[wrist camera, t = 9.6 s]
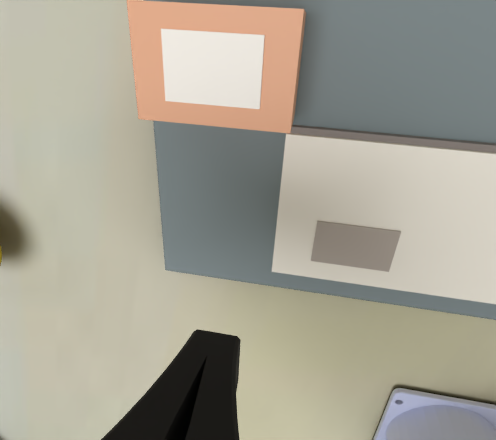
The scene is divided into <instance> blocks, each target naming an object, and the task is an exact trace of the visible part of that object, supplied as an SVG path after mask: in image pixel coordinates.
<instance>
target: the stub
mask: <svg viewBox="0 0 496 440" xmlns="http://www.w3.org/2000/svg"><path fill="white" fill-rule="evenodd" d="M127 8H128V18H129V28H130V38H131V48H132V58H133V68H134V78H135V88H136V98H137V108H138V118H139V119H144V120H154V121H164V122H175V123H185V124H196V125H206V126H217V127H227V128H238V129H248V130H258V131H269V132H279V133H290V132H291V128H292V124H293V120H294V116H295V107H296V98H297V89H298V81H299V72H300V63H301V54H302V46H303V37H304V28H305V19H306V12H305V10H304V9H296V8H276V7H257V6H238V5H218V4H199V3H179V2H160V1H141V0H127Z"/></svg>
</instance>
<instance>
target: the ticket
mask: <svg viewBox="0 0 496 440" xmlns="http://www.w3.org/2000/svg"><path fill="white" fill-rule="evenodd" d="M272 272H277V273H284V274H291V275H297V276H304V277H311V278H318V279H325V280H332V281H339V282H346V283H352V284H359V285H366V286H373V287H380V288H387V289H394V290H401V291H407V292H414V293H421V294H428V295H435V296H442V297H449V298H456V299H462V300H469V301H476V302H483V303H490V304H496V143H486V142H475V141H464V140H453V139H443V138H432V137H421V136H410V135H399V134H389V133H378V132H367V131H356V130H345V129H335V128H324V127H313V126H302V125H292V128H291V132H290V133H286V139H285V149H284V158H283V168H282V177H281V187H280V196H279V206H278V215H277V225H276V234H275V244H274V253H273V263H272Z"/></svg>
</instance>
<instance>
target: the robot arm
mask: <svg viewBox="0 0 496 440" xmlns="http://www.w3.org/2000/svg"><path fill="white" fill-rule="evenodd" d="M239 356H240V339H239V338H238V337H237V336H233V335H227V334H221V333H215V332H209V331H203V330H196V331H194V332H193V334H192V335H191V337H190V338H189V340H188V341H187V342H186V344H185V345H184V346H183V348H182V349H181V351H180V352H179V353H178V355H177V356H176V357H175V358H174V360H173V361H172V362H171V364H170V365H169V366H168V367H167V369H166V370H165V371H164V372H163V373H162V375H161V376H160V377H159V378H158V379H157V380H156V382H155V383H154V384H153V385H152V386H151V388H150V389H149V390H148V391H147V392H146V393H145V395H144V396H143V397H142V398H141V399H140V400H139V401H138V402H137V403H136V404H135V405H134V406H133V407H132V409H131V410H130V411H129V412H128V413H127V414H126V415H125V416H124V417H123V418H122V419H121V420H120V421H119V422H118V423H117V424H116V425H115V426H114V427H113V428H112V429H111V430H110V431H109V432H108V433H107V434H106V435H105V436H104V437H103V438H102V439H101V440H239V432H238V421H237V405H236V389H237V383H238V373H239ZM373 440H496V405H493V404H487V403H482V402H476V401H471V400H465V399H459V398H454V397H448V396H443V395H437V394H431V393H426V392H420V391H415V390H409V389H403V388H396V389H394V390H393V391H392V394H391V396H390V399H389V401H388V404H387V406H386V409H385V411H384V414H383V416H382V419H381V421H380V424H379V426H378V429H377V431H376V434H375V436H374V439H373Z"/></svg>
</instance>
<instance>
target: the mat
mask: <svg viewBox="0 0 496 440" xmlns="http://www.w3.org/2000/svg"><path fill="white" fill-rule="evenodd" d="M144 1H160V2H179V3H199V4H218V5H238V6H257V7H276V8H296V9H304V10H305V12H306V19H305V28H304V37H303V46H302V54H301V63H300V72H299V81H298V89H297V98H296V107H295V116H294V120H293V124H292V125H302V126H313V127H324V128H335V129H345V130H356V131H367V132H378V133H389V134H399V135H410V136H421V137H432V138H443V139H453V140H464V141H475V142H486V143H496V0H144ZM153 121H154V120H153ZM154 134H155V146H156V159H157V171H158V184H159V196H160V209H161V221H162V234H163V246H164V259H165V270H168V271H175V272H181V273H188V274H195V275H201V276H208V277H214V278H221V279H228V280H234V281H241V282H248V283H254V284H261V285H268V286H274V287H281V288H288V289H294V290H301V291H308V292H314V293H321V294H327V295H334V296H341V297H347V298H354V299H361V300H367V301H374V302H381V303H387V304H394V305H401V306H407V307H414V308H420V309H427V310H434V311H440V312H447V313H454V314H460V315H467V316H474V317H480V318H487V319H494V320H496V304H490V303H483V302H476V301H469V300H462V299H456V298H449V297H442V296H435V295H428V294H421V293H414V292H407V291H401V290H394V289H387V288H380V287H373V286H366V285H359V284H352V283H346V282H339V281H332V280H325V279H318V278H311V277H304V276H297V275H291V274H284V273H277V272H272V263H273V253H274V244H275V234H276V225H277V215H278V206H279V196H280V187H281V177H282V168H283V158H284V149H285V139H286V133H279V132H269V131H258V130H248V129H238V128H227V127H217V126H206V125H196V124H185V123H175V122H164V121H154Z"/></svg>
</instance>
